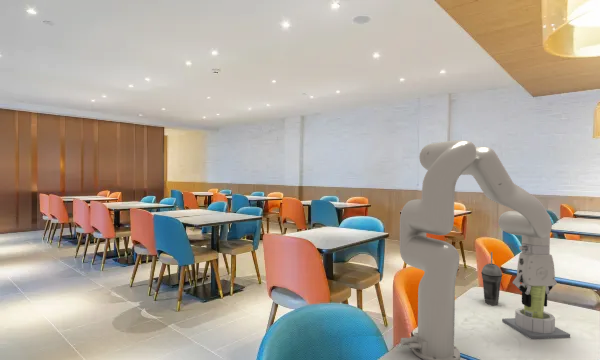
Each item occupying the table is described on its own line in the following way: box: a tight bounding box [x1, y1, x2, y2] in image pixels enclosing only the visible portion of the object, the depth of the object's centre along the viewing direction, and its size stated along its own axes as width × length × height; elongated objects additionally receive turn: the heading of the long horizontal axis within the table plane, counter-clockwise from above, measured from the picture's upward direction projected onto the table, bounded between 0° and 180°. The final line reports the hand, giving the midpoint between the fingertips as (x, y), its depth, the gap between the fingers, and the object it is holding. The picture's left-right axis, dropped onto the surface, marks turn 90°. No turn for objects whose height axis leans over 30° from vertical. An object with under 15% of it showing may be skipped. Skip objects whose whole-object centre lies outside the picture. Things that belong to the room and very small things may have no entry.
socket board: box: [501, 307, 571, 340], centre depth 113 cm, size 13×13×5 cm
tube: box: [523, 286, 546, 319], centre depth 113 cm, size 6×5×20 cm
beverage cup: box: [481, 251, 503, 306], centre depth 136 cm, size 7×7×20 cm
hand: (534, 304), depth 113 cm, fingers closed on tube, 4 cm apart
